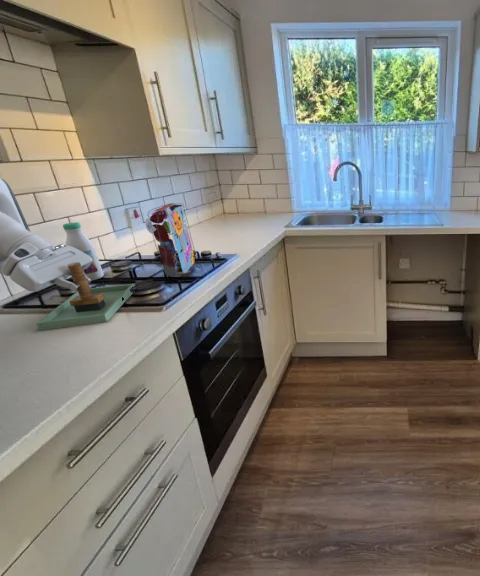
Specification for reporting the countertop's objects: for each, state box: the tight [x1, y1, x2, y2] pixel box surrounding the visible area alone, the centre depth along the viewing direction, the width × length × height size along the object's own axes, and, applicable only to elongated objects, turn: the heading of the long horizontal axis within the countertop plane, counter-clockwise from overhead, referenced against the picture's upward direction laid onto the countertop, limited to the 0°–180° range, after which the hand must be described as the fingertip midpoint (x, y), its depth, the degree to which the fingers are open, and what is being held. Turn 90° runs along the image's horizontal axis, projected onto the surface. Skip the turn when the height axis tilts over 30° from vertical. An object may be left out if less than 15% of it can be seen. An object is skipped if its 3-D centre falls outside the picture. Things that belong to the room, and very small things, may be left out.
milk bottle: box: [62, 221, 104, 282], centre depth 126 cm, size 8×8×20 cm
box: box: [145, 202, 198, 282], centre depth 124 cm, size 25×6×24 cm, turn 9°
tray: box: [36, 283, 136, 331], centre depth 107 cm, size 16×24×2 cm, turn 16°
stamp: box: [67, 262, 105, 312], centre depth 102 cm, size 7×4×14 cm, turn 104°
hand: (83, 285), depth 102 cm, fingers closed on stamp, 3 cm apart
